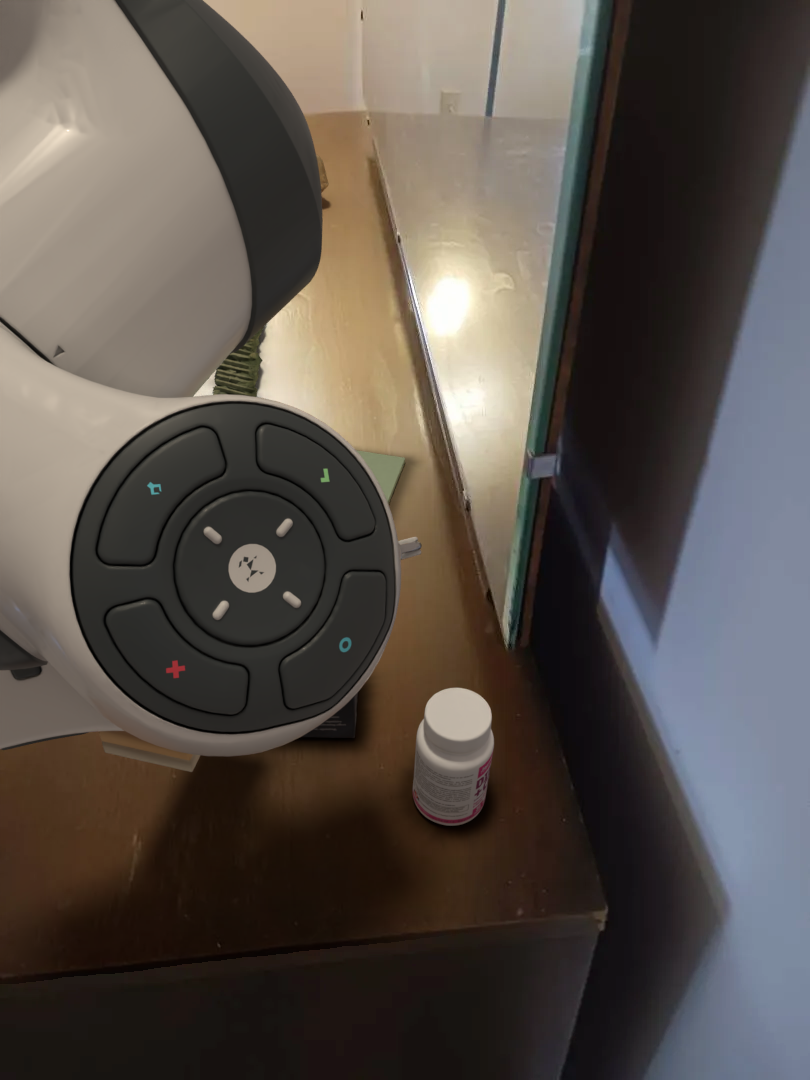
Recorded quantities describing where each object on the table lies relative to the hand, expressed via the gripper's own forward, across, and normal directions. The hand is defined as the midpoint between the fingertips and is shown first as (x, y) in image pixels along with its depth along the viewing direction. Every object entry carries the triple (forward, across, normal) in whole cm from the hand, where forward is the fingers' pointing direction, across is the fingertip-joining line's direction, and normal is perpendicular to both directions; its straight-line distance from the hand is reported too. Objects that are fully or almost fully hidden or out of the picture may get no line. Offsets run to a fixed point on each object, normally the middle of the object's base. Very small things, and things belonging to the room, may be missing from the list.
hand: (166, 617), depth 45 cm
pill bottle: (+7, -15, +16) cm, 23 cm away
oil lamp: (+83, -39, -61) cm, 110 cm away
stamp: (+4, 0, +5) cm, 6 cm away
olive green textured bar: (+46, -16, -23) cm, 54 cm away
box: (+14, -8, +8) cm, 19 cm away
